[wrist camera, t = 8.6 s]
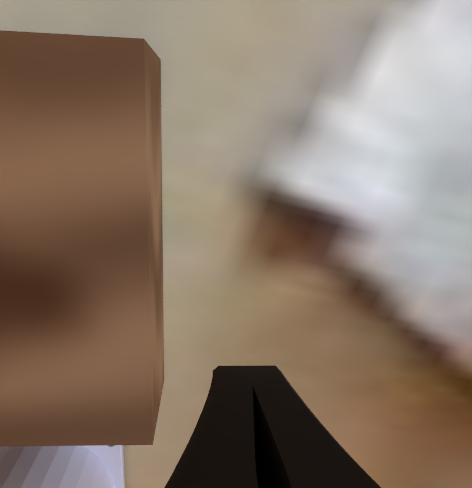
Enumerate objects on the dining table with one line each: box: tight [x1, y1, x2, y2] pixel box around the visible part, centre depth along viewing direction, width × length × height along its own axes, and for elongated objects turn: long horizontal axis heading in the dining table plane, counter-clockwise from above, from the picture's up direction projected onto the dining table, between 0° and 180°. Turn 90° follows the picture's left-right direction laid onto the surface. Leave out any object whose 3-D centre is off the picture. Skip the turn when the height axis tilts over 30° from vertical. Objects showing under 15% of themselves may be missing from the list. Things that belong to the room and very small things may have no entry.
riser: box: [0, 31, 164, 447], centre depth 15 cm, size 14×9×4 cm, turn 178°
